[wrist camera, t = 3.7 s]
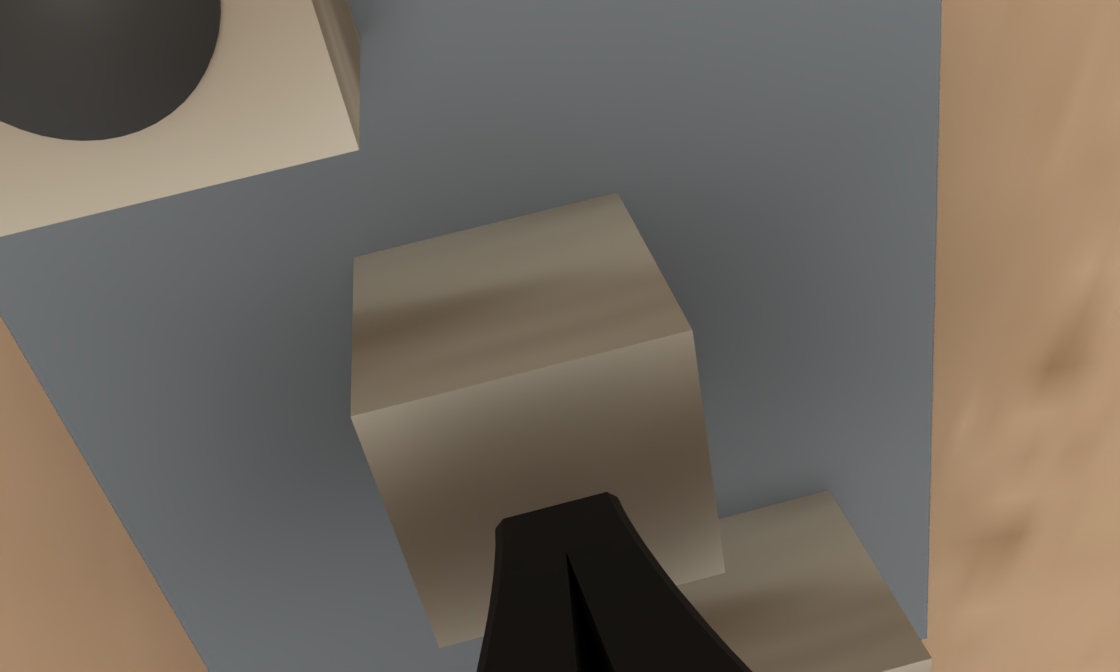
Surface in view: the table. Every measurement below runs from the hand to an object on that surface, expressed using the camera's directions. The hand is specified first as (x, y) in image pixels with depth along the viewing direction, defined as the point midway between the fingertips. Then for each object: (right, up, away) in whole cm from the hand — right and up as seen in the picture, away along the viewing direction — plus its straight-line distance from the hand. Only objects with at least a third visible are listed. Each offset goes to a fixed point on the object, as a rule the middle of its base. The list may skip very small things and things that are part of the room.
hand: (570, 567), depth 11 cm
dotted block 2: (+3, -2, +8) cm, 9 cm away
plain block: (-1, +3, +4) cm, 5 cm away
